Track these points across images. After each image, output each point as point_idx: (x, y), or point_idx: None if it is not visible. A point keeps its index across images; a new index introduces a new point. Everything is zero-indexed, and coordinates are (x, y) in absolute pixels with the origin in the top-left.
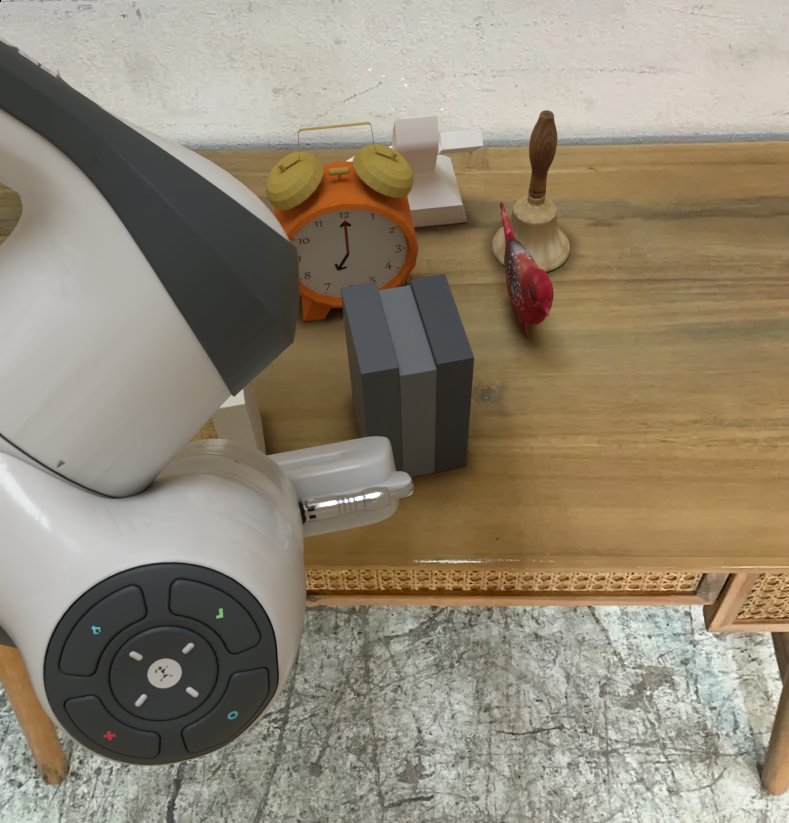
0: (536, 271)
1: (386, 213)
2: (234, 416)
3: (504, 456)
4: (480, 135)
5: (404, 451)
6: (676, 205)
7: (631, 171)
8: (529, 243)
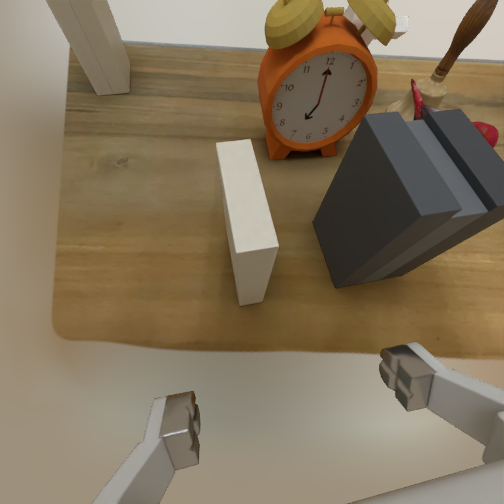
0: (480, 123)
1: (368, 60)
2: (261, 257)
3: (427, 268)
4: (406, 22)
5: (377, 271)
6: (492, 98)
7: (459, 76)
8: None
